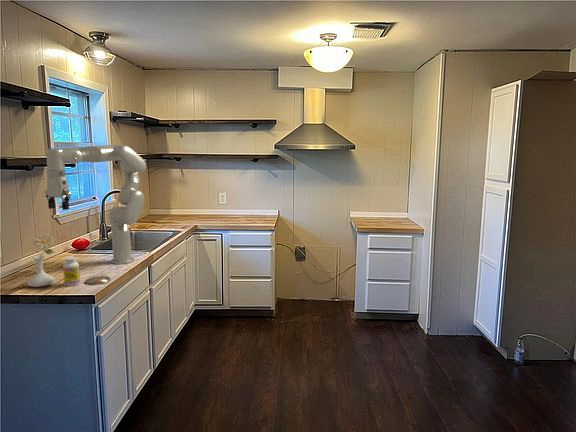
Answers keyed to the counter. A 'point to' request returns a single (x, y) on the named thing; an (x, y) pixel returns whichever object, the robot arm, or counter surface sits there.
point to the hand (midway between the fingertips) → (58, 208)
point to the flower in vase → (41, 277)
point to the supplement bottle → (71, 271)
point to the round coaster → (97, 280)
